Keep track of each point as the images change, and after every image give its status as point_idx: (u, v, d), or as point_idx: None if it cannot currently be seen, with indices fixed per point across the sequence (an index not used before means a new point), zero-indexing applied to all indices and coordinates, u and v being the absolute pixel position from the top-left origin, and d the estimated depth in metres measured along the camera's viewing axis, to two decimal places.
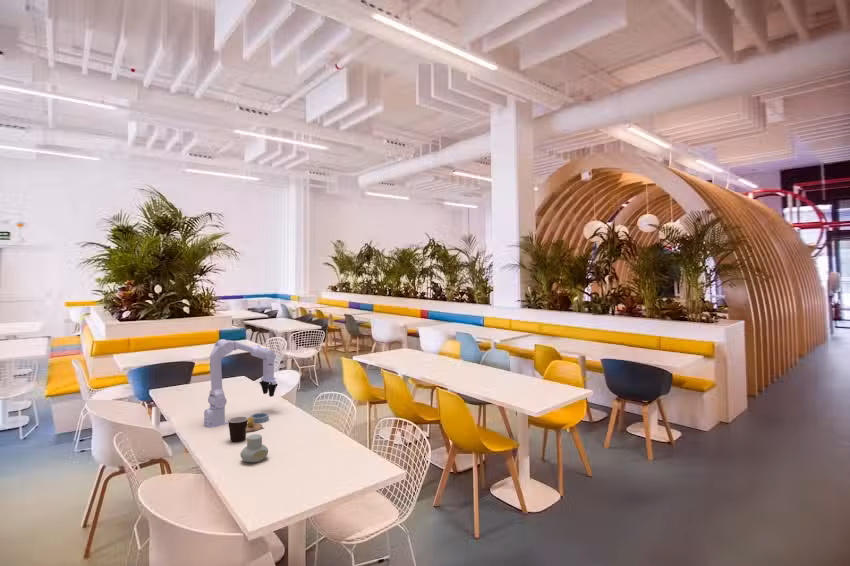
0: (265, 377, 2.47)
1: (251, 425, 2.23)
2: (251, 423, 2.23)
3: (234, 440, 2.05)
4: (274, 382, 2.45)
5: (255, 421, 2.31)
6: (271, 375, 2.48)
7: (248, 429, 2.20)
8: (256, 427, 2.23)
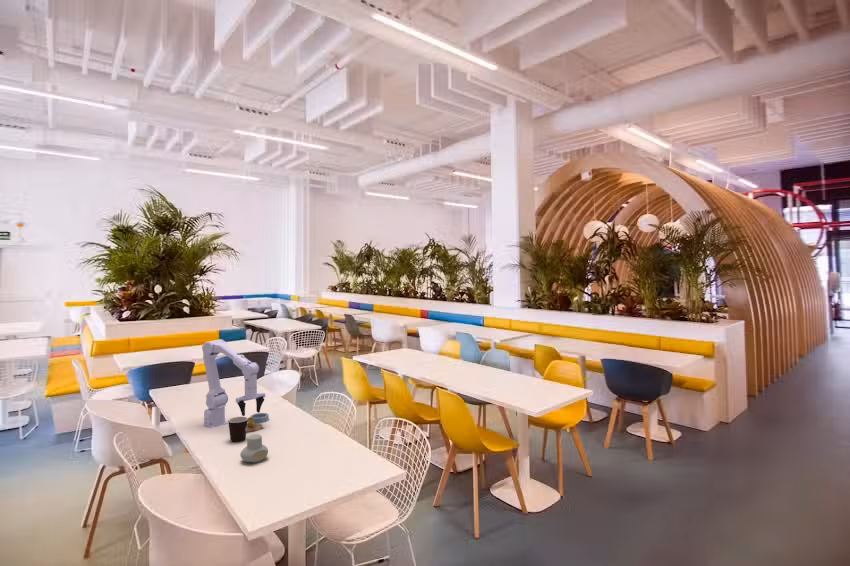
0: None
1: (251, 425, 2.23)
2: (251, 423, 2.23)
3: (234, 440, 2.05)
4: (236, 400, 2.18)
5: (255, 421, 2.31)
6: (245, 392, 2.21)
7: (248, 429, 2.20)
8: (256, 427, 2.23)
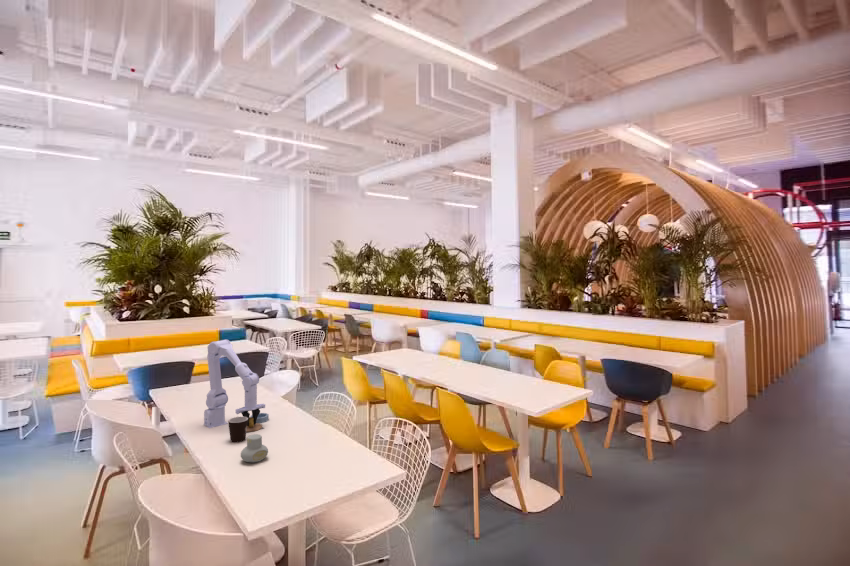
0: None
1: (251, 425, 2.23)
2: (251, 423, 2.23)
3: (234, 440, 2.05)
4: (236, 411, 2.18)
5: None
6: (245, 403, 2.21)
7: (248, 429, 2.20)
8: (256, 427, 2.23)
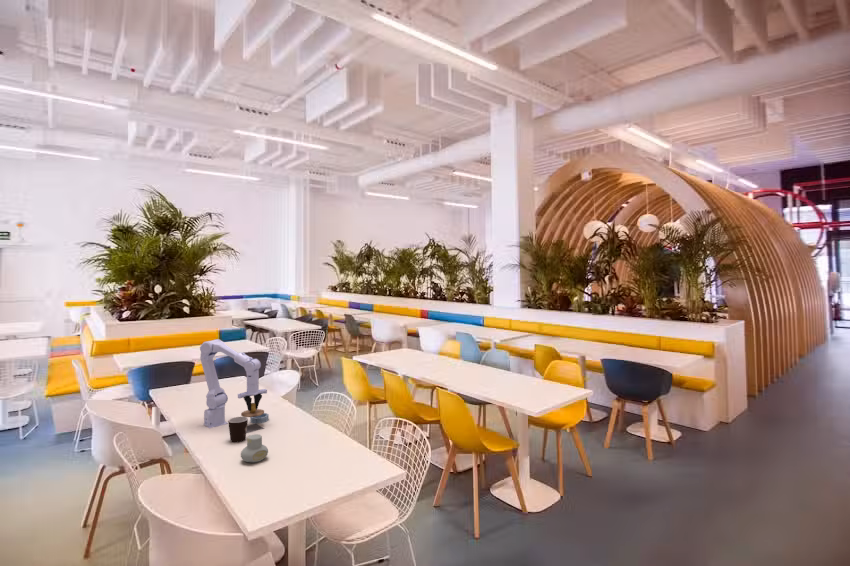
0: None
1: (253, 411, 2.25)
2: (253, 408, 2.25)
3: (234, 440, 2.05)
4: (238, 395, 2.21)
5: (255, 421, 2.31)
6: (247, 388, 2.24)
7: (250, 414, 2.22)
8: (258, 412, 2.25)
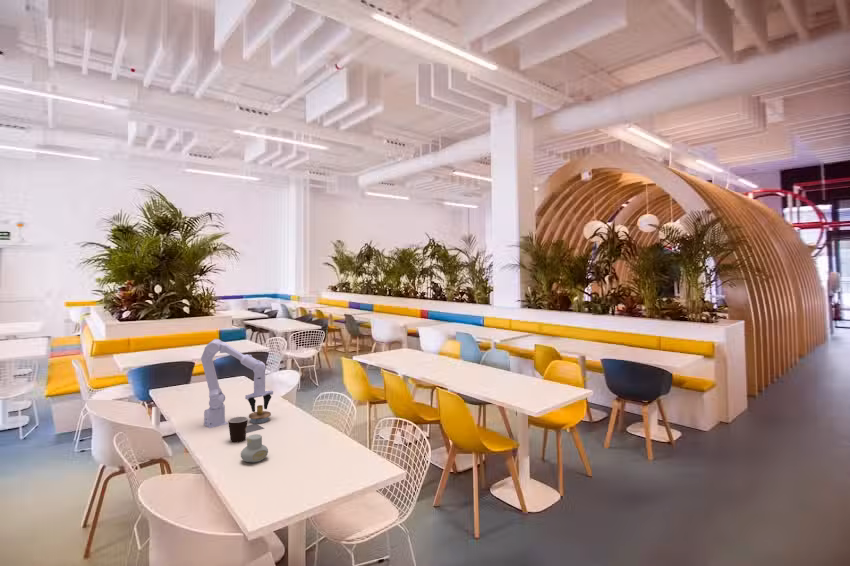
0: None
1: (260, 413, 2.34)
2: (260, 411, 2.34)
3: (234, 440, 2.05)
4: (246, 397, 2.30)
5: (255, 421, 2.31)
6: (254, 389, 2.33)
7: (257, 416, 2.31)
8: (265, 415, 2.34)
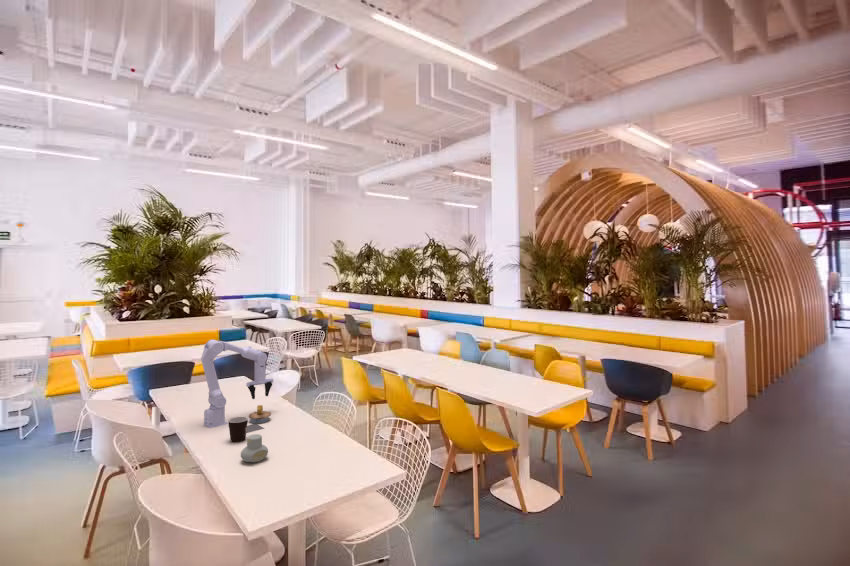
0: None
1: (260, 413, 2.34)
2: (260, 411, 2.34)
3: (234, 440, 2.05)
4: (247, 384, 2.40)
5: (255, 421, 2.31)
6: (255, 377, 2.43)
7: (257, 416, 2.31)
8: (265, 415, 2.34)
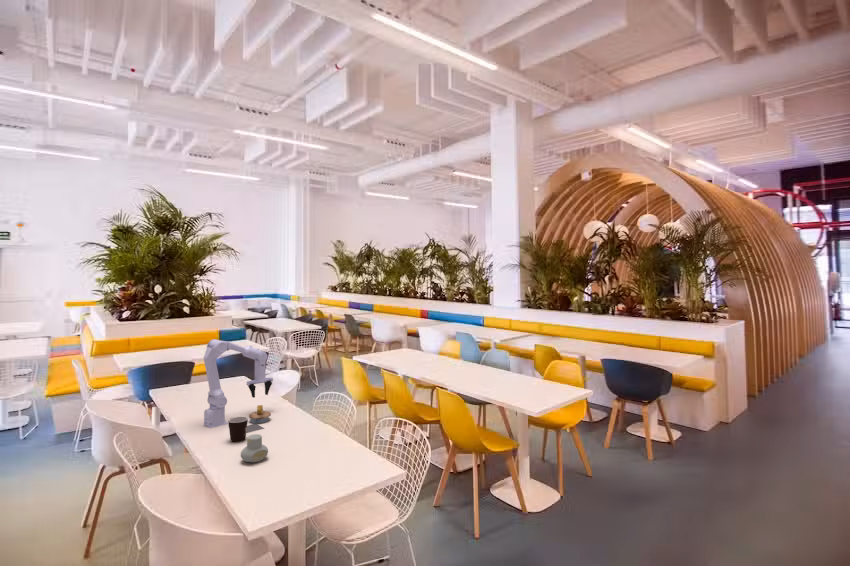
0: None
1: (260, 413, 2.34)
2: (260, 411, 2.34)
3: (234, 440, 2.05)
4: (247, 383, 2.43)
5: (255, 421, 2.31)
6: (255, 376, 2.46)
7: (257, 416, 2.31)
8: (265, 415, 2.34)
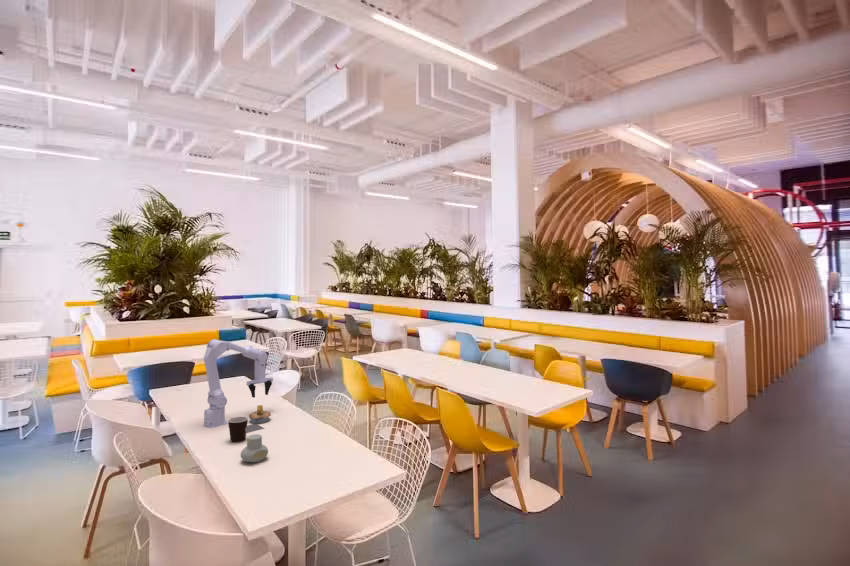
0: None
1: (260, 413, 2.34)
2: (260, 411, 2.34)
3: (234, 440, 2.05)
4: (247, 383, 2.43)
5: (255, 421, 2.31)
6: (255, 376, 2.46)
7: (257, 416, 2.31)
8: (265, 415, 2.34)
